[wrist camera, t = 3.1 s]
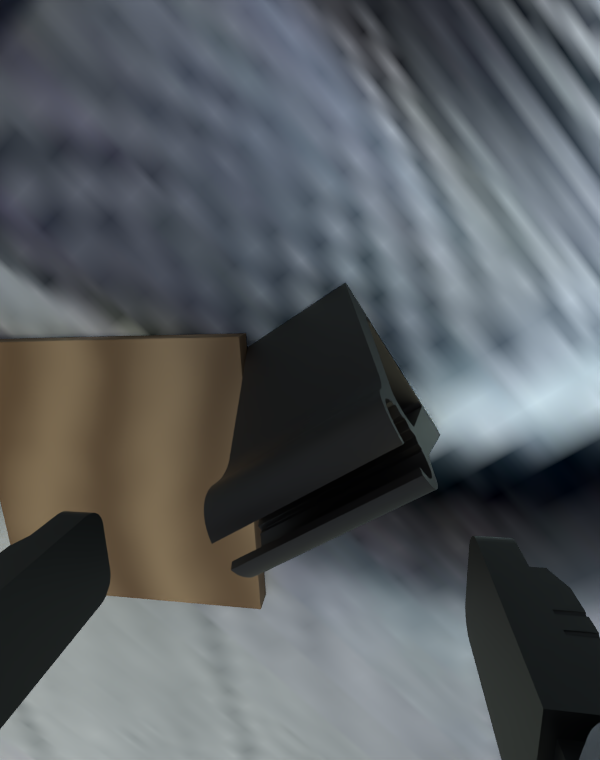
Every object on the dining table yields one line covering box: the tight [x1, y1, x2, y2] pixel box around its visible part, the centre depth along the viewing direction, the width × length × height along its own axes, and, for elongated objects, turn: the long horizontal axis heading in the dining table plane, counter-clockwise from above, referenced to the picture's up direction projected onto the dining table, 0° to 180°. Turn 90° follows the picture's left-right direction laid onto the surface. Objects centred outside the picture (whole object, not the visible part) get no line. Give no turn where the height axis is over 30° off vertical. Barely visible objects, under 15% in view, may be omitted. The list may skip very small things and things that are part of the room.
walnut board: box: [0, 333, 266, 609], centre depth 26 cm, size 16×16×1 cm
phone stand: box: [204, 283, 440, 578], centre depth 17 cm, size 9×6×12 cm, turn 33°
